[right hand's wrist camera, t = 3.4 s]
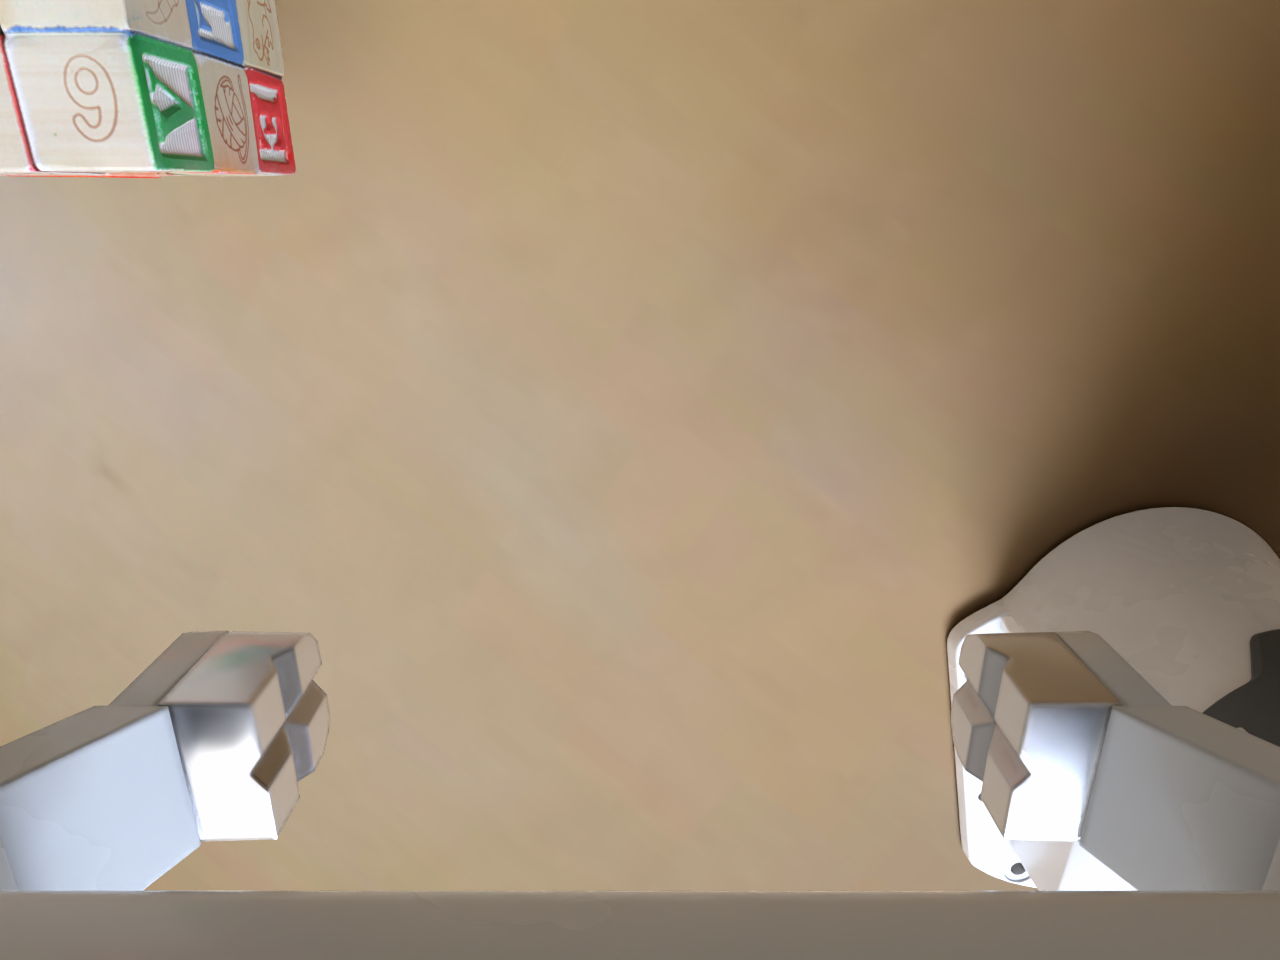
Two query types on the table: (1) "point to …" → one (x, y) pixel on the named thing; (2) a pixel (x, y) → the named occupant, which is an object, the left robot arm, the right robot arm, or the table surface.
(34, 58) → the stack of blocks
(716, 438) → the table surface
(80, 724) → the right robot arm
